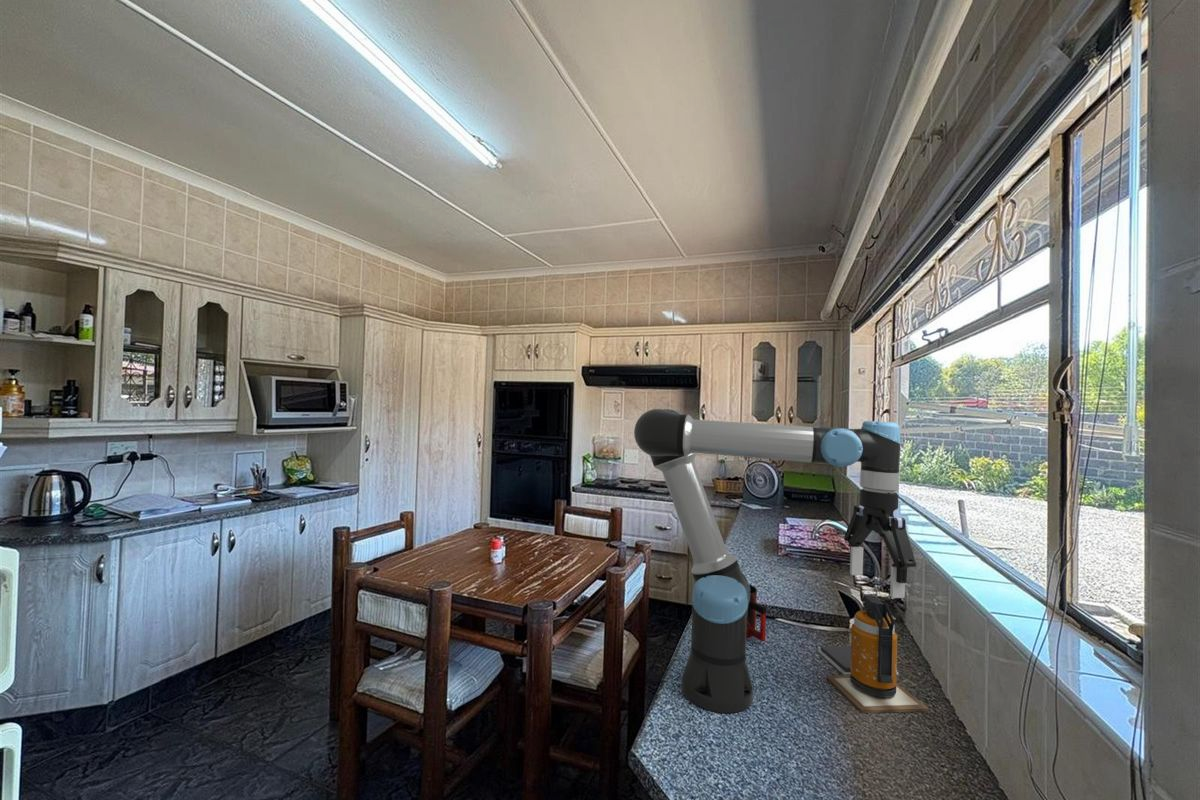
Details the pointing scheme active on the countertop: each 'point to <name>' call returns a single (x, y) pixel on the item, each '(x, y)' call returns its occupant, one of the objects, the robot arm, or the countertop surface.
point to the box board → (877, 698)
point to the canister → (874, 649)
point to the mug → (751, 617)
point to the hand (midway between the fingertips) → (875, 585)
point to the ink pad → (838, 657)
